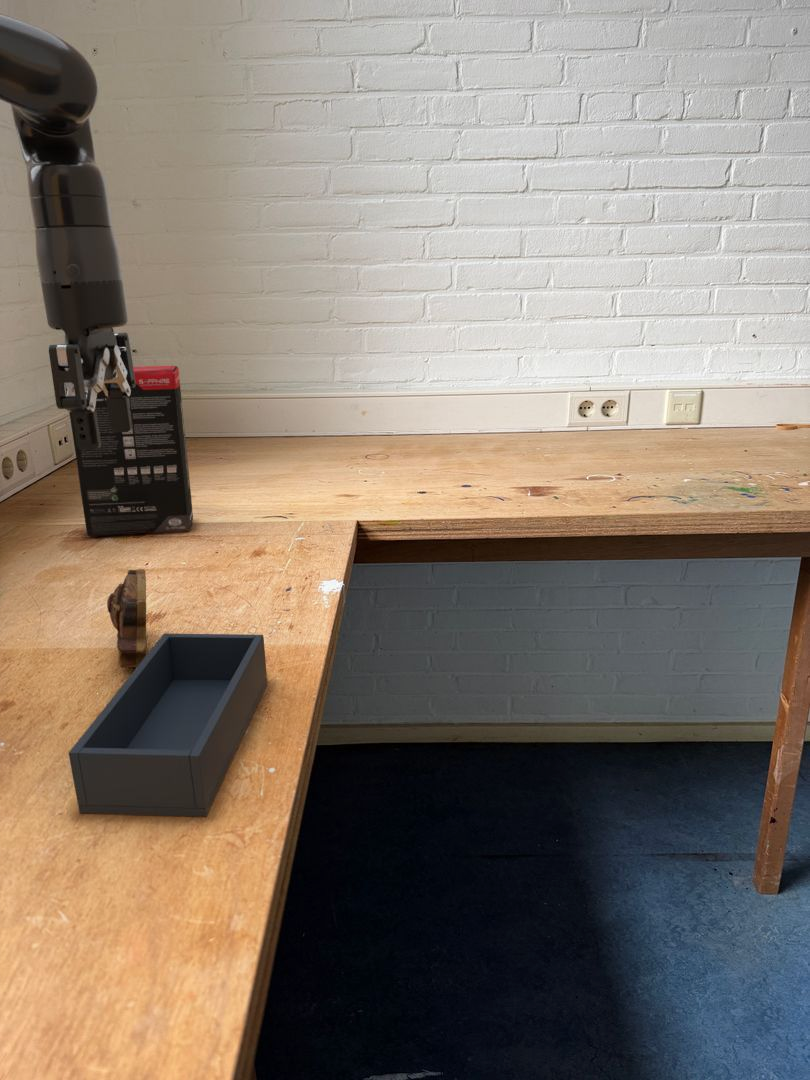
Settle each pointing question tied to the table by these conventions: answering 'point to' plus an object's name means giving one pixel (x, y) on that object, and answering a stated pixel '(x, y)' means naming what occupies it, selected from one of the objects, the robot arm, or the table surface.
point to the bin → (171, 727)
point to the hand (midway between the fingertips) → (106, 439)
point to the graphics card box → (139, 462)
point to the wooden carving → (130, 618)
